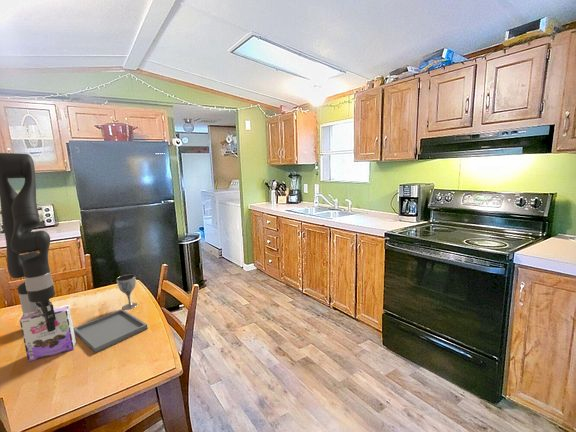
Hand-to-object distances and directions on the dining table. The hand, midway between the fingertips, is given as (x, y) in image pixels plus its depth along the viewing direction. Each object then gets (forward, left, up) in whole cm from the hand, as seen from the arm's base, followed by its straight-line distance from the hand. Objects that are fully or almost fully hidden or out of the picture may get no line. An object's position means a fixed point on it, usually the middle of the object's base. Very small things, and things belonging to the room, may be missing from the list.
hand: (48, 327), depth 110 cm
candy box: (0, 0, -10) cm, 10 cm away
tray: (+3, +19, -10) cm, 22 cm away
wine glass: (-13, +34, -10) cm, 38 cm away
